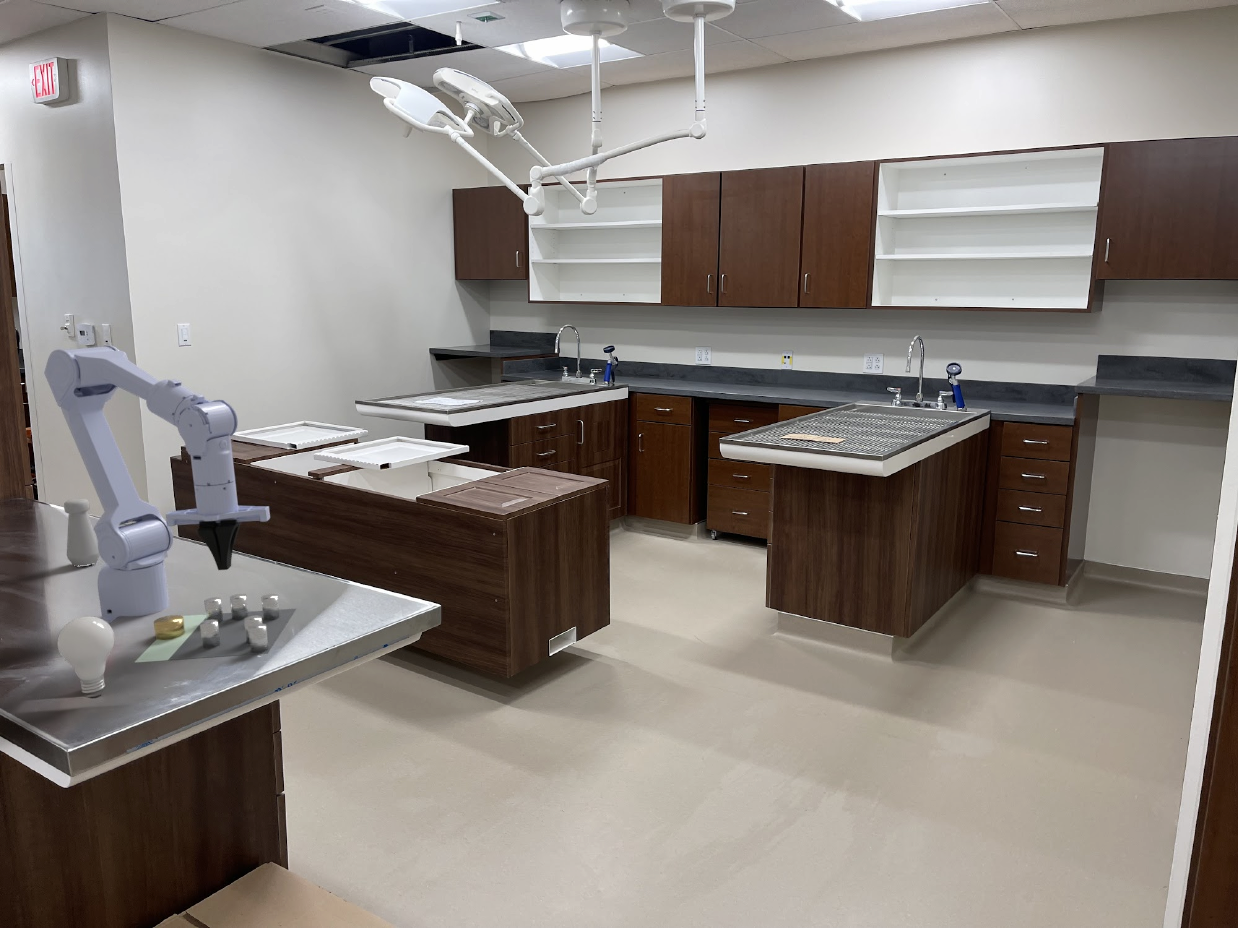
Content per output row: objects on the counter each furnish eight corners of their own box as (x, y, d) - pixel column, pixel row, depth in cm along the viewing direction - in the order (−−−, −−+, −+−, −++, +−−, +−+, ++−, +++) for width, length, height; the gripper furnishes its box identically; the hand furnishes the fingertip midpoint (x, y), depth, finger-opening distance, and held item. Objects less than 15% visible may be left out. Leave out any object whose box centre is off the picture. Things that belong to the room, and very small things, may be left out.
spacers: (174, 658, 127) (171, 635, 126) (211, 616, 143) (209, 595, 142) (266, 652, 128) (263, 629, 127) (292, 611, 144) (290, 590, 143)
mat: (135, 670, 126) (134, 662, 126) (180, 623, 144) (179, 616, 143) (268, 660, 128) (267, 652, 128) (297, 615, 146) (296, 608, 145)
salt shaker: (108, 562, 177) (99, 498, 174) (78, 570, 172) (68, 504, 170) (92, 558, 180) (83, 495, 177) (62, 566, 175) (52, 501, 173)
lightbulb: (81, 687, 121) (69, 610, 119) (130, 684, 121) (119, 607, 119) (56, 709, 115) (43, 628, 112) (108, 706, 115) (96, 625, 113)
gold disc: (151, 641, 133) (149, 625, 133) (161, 630, 137) (159, 616, 137) (180, 638, 134) (178, 623, 133) (188, 628, 138) (186, 614, 137)
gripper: (154, 490, 131) (165, 579, 134) (257, 485, 133) (266, 573, 136) (171, 480, 138) (182, 564, 141) (269, 475, 140) (278, 559, 143)
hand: (224, 568), depth 139 cm, fingers closed
